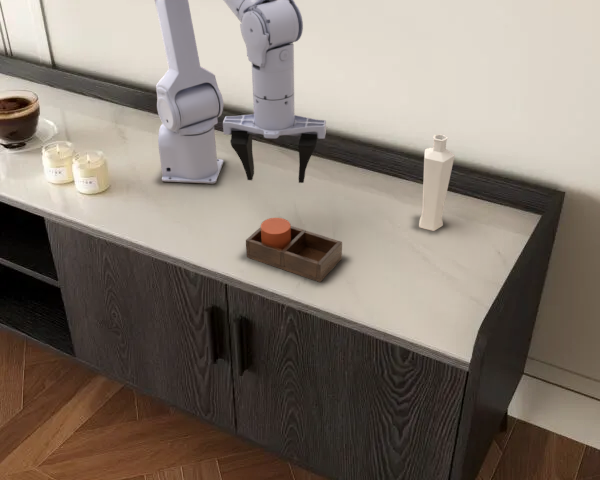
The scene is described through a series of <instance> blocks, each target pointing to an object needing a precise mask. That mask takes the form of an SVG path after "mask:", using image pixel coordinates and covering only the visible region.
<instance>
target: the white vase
mask: <svg viewBox="0 0 600 480" xmlns="http://www.w3.org/2000/svg"><path fill="white" fill-rule="evenodd" d="M432 139H433V145H432V147H428V148H425V149H424V157H423V182H422V183H423V184H422V210H421V211H422V212H421V215H420V218H419V222H418V227H419V228H421V229H424V230H428V231H432V232H435V231H437V230H438V229H440V228H441V227H443V226H444V222H443V212H444V207H445V202H446V199H447V193H448V188H449V184H450V181H451V180H450V179H451V174H452V171H453V170H452V169H453V165H454V161H455V154H454V153H453V152H451V151H450V150H448V149H447V141H448V139H449V137H448V136H446V135H445V134H444V133H439V134H433V138H432Z"/></svg>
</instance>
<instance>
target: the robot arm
mask: <svg viewBox="0 0 600 480" xmlns="http://www.w3.org/2000/svg"><path fill="white" fill-rule="evenodd" d="M223 2H224V3H225V4H226V5H227V7H228V8H229V9H230V10H231V12H232V14H234V16H235V18H237V20H239V22H240V23H239V27H240V32H241V36H242V39H243V42H244V45H245V48H246V57H247V59H248V61H249V62H250V63H251V80H252V82H251V83H252V101H253V103H252V104H253V113H252V114H251V113H250V114H241V115H226V116H225V117H224V119H223V120H222V128H223V129H222V132H223V135H227V136H229V135H231V136H230V140H229V141H230V142H229V143H230V145H231V148H232V149H233V150H234V151H235V154H236V155H237V156H238V158H239V160H240V162H241V164H242V166H243V169H244V172H245V175H246V179H247V181H253V179H254V175H255V164H254V162H255V161H254V155H253V135H254V134H255V135H263V138H264V139H278V138H279V137H280V136H299V141H298V145H297V146H298V159H299V166H298V183H299V184H303V183H304V182H305V178H306V169H307V166H308V164H309V161H310V160H311V157H312V155H313V154H314V152H315V150H316V147H317V144H318V139H320V140H321V139H323V140H324V139H326V133H327V120H326V119H315V118H311V117H306V116H302V115H298V114H297V115H296V114H295V45H294V43H296V42H298V41H299V40H300V39H301V37H302V35H303V31H304V21H303V17H302V13H301V11H300V8H299V6H298V5H297V3H296V2H295V0H223ZM154 4H155V9H156V14H157V18H158V23H159V28H160V33H161V38H162V43H163V47H164V53H165V57H166V63H167V67H168V69H167V71H165V73H164V75H163V76H162V77H161V78H160V79H159V81H158V82H157V83H156V85H155V88H156V89H155V90H156V99H157V100H156V110H157V114H158V117H159V120H160V121H161V125H160V126H159V130H158V135H157V136H158V139H157V143H158V153H159V161H160V168H161V174H162V175H161V181H162V182H166V183H167V182H169V183H190V184H191V183H192V184H193V183H194V184H195V183H196V184H216V183H217V181H218V178H219V176H220V172H221V171H222V167H223V165H224V159H221V158H218V156H217V155H218V154H217V153H218V152H217V145H216V143H217V141H216V133H215V125H217V124H218V123H219V121H218V120H219V119H218V118H219V117H221V116H222V114H223V111H224V97H223V94H222V91H221V90H220V88H219V85H218V81H217V78H216V75H215V74H214V73H213V72H212V71H211V70H209V69H207V68H205V67H203V66H201V63H200V58H199V57H200V56H199V51H198V46H197V41H196V35H195V30H194V25H193V19H192V14H191V8H190V3H189V0H154Z"/></svg>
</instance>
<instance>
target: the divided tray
mask: <svg viewBox="0 0 600 480" xmlns="http://www.w3.org/2000/svg"><path fill="white" fill-rule="evenodd" d="M245 251H246V258H249V259H251V260H254V261H257V262H260V263H263V264H266V265H269V266H271V267H274V268H277V269H281V270H283V271H286V272H288V273H291V274H295V275H297V276H301V277H303V278H306V279H310V280H313V281H315V282H318V283H321V282H322V281H323V280H324V279H325V278H326V277H327V276H328V275H329V274H330V272H331V271H332V270H333V269H334V268H335V267H336V266H337V265H338V264H339V262H341V260H342V259H343V241H341V240H337V239H334V238H332V237H329V236H325V235H322V234H318V233H315V232H312V231H309V230H306V229H303V228H300V227H296V226H293V225H291V242H290V243H289V244H288V245H287V246H286V247H285V248H284V249H283V250H282V249H279V248H276V247H273V246H270V245H267V244H264V243H262V242H261V226H260V227H259V228H258V229H256V230H255V231H254V232H253V233H252V234H250V235H249V237H248V238H246V239H245Z"/></svg>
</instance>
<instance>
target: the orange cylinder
mask: <svg viewBox="0 0 600 480" xmlns="http://www.w3.org/2000/svg"><path fill="white" fill-rule="evenodd" d="M291 226H292V225H291V222H290V221H289V220H287V219H285V218H282V217H270V218H267V219H265V220H263V221H262V222H261V224H260V227H261V242H262V243H264V244H267V245H270V246H273V247H276V248H279V249H282V250H283V249H284V248H285V247H286V246H287V245H288V244H289V243H290V242H291Z"/></svg>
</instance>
